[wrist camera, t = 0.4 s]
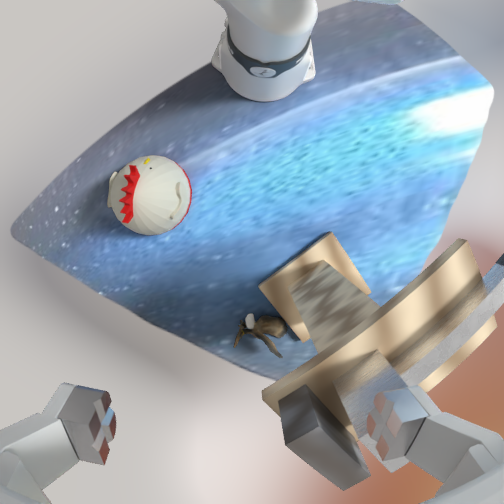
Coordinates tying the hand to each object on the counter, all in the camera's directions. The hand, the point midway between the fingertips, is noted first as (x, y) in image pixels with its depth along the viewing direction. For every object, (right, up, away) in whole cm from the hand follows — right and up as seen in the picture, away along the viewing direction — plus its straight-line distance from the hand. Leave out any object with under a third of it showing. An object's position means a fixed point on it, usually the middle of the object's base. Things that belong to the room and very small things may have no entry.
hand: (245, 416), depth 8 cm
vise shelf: (+14, -1, +48) cm, 50 cm away
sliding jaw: (+20, -2, +17) cm, 26 cm away
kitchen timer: (-17, +15, +45) cm, 50 cm away
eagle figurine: (+2, -9, +50) cm, 51 cm away
